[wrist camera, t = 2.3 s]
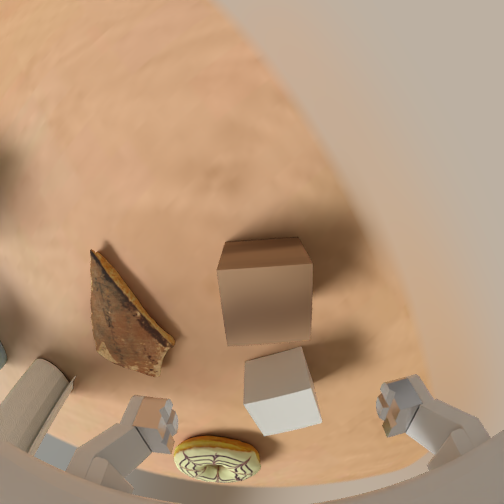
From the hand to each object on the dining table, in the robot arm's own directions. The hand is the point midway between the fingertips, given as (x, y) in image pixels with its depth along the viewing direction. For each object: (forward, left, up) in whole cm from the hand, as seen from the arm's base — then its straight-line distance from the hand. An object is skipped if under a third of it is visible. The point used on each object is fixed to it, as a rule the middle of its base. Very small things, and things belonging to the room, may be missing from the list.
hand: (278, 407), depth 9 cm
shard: (+3, -13, -12) cm, 18 cm away
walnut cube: (-1, 0, -12) cm, 12 cm away
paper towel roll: (+12, -26, -12) cm, 31 cm away
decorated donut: (+24, -7, -12) cm, 28 cm away
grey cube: (+9, +1, -12) cm, 15 cm away
